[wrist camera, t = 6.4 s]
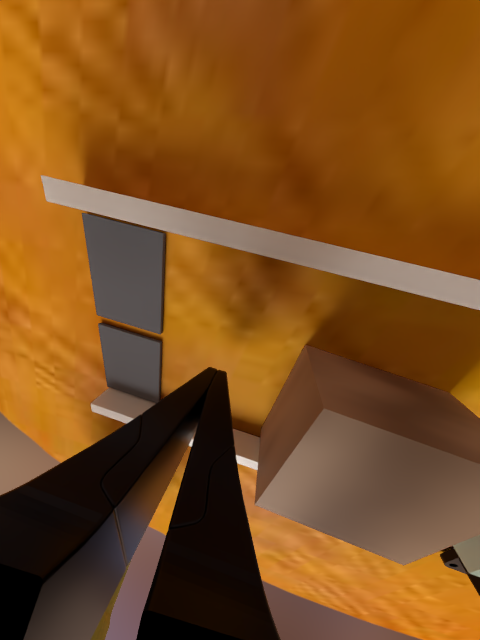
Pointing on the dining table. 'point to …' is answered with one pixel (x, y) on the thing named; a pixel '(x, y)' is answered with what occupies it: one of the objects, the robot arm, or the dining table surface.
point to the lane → (318, 255)
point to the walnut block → (371, 458)
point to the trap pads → (128, 301)
